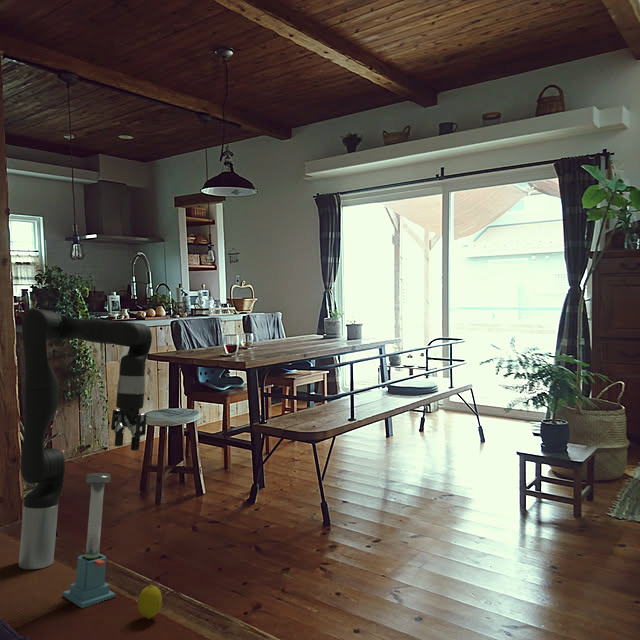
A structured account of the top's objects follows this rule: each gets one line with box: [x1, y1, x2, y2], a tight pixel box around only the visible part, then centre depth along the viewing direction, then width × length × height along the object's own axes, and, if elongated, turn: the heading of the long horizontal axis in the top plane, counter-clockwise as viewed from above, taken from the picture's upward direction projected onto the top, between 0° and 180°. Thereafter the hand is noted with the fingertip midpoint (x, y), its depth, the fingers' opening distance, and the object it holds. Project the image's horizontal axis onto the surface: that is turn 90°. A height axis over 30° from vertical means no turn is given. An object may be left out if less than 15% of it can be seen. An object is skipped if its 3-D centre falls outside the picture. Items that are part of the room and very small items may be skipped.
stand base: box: [62, 553, 117, 609], centre depth 146 cm, size 10×9×10 cm
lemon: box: [137, 584, 163, 620], centre depth 136 cm, size 6×6×8 cm
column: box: [84, 472, 111, 561], centre depth 147 cm, size 6×6×24 cm
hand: (126, 448), depth 162 cm, fingers open, 8 cm apart
